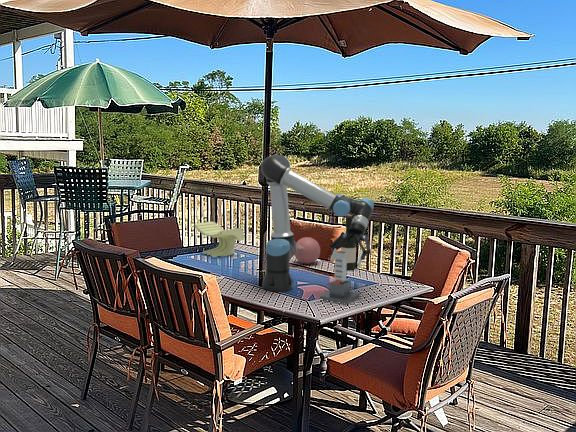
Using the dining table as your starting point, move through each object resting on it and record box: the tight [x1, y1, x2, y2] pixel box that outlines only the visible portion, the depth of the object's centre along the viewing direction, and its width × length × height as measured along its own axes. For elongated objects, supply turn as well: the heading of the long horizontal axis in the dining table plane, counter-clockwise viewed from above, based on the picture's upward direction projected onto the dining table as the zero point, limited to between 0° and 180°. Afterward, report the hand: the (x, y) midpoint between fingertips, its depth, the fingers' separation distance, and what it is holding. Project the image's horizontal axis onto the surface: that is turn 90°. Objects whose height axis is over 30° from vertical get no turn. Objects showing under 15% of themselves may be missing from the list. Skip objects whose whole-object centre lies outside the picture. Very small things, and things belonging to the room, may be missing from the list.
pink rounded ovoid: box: [294, 236, 321, 265], centre depth 337 cm, size 15×20×15 cm
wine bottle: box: [340, 215, 357, 271], centre depth 327 cm, size 8×8×30 cm
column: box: [334, 250, 347, 284], centre depth 271 cm, size 4×4×20 cm
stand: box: [319, 279, 361, 305], centre depth 272 cm, size 14×14×9 cm
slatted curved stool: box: [194, 221, 245, 258], centre depth 361 cm, size 30×16×18 cm, turn 40°
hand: (344, 263), depth 273 cm, fingers open, 13 cm apart
